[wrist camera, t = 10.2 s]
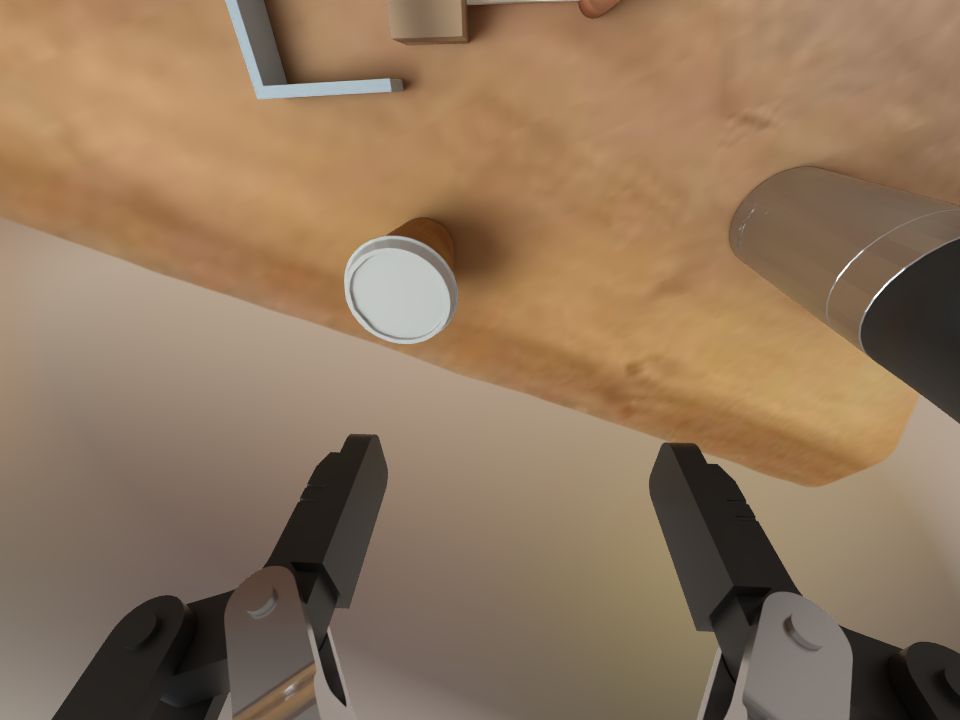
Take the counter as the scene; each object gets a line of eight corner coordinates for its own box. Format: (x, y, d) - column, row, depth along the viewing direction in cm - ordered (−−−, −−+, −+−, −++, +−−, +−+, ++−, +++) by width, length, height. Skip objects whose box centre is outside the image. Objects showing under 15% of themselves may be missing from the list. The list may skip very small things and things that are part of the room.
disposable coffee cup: (372, 201, 37) (324, 242, 28) (467, 200, 36) (451, 240, 27) (389, 289, 43) (354, 348, 33) (471, 289, 42) (460, 349, 32)
